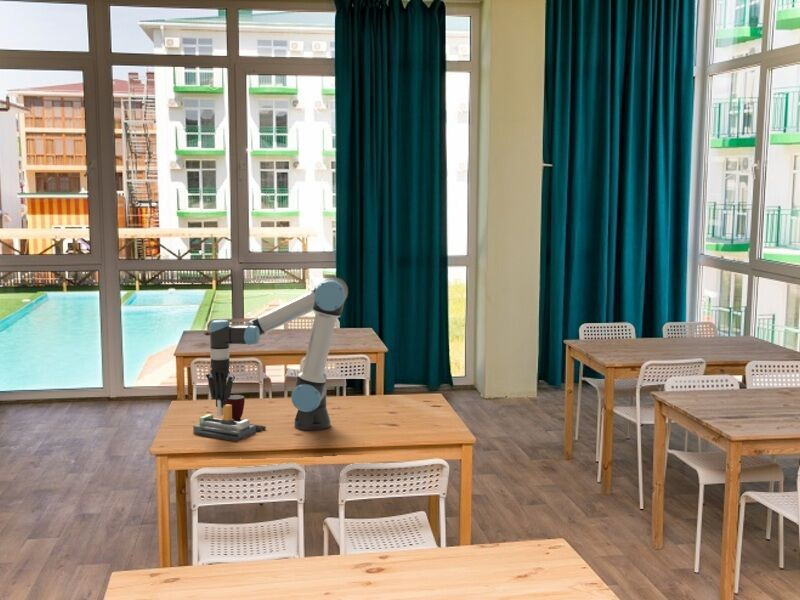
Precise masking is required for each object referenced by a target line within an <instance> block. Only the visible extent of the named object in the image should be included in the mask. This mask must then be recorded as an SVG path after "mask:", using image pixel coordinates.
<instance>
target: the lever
mask: <svg viewBox="0 0 800 600" xmlns="http://www.w3.org/2000/svg"><path fill="white" fill-rule="evenodd" d="M223 413H224V415H223V419H222V420H221V423H224V424H230V425H234V419H232V405H229V404H226V405H223Z"/></svg>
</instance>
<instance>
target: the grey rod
mask: <svg viewBox="0 0 800 600" xmlns="http://www.w3.org/2000/svg"><path fill="white" fill-rule="evenodd" d="M262 431H263V430H262V428H261V427H257V426H256V432H262Z"/></svg>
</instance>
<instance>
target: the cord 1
mask: <svg viewBox="0 0 800 600" xmlns="http://www.w3.org/2000/svg"><path fill="white" fill-rule="evenodd" d="M197 435H199V436H202V437H208V438H214V439H219V440H225V441H232V442H238V441H239V440H238V437H235V436H229V435H223V434H217V433H211V432H206V431H198V434H197Z"/></svg>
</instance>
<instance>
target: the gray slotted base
mask: <svg viewBox="0 0 800 600" xmlns="http://www.w3.org/2000/svg"><path fill="white" fill-rule="evenodd" d="M221 420H222V419H221V418H216V417H215V418H214V414H212V413H209V414H205V415H202V416H200V417H199V423H198V424H194V425H193V426H192V427H193V434H196V433H197V434H196V435H198V431H206V432H211V433H217V434H223V435H229V436H235V437H238V441H241V440H242V439H245V438H247V437H249V435H250V436H252V435H254V434H256V433H257V431H256V426H254V425H255V424H252V425H250V424H251V423H250V419H247V418H245V419H243V420H239V421H234V425H230V424H224V423H221ZM251 434H252V435H251Z"/></svg>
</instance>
